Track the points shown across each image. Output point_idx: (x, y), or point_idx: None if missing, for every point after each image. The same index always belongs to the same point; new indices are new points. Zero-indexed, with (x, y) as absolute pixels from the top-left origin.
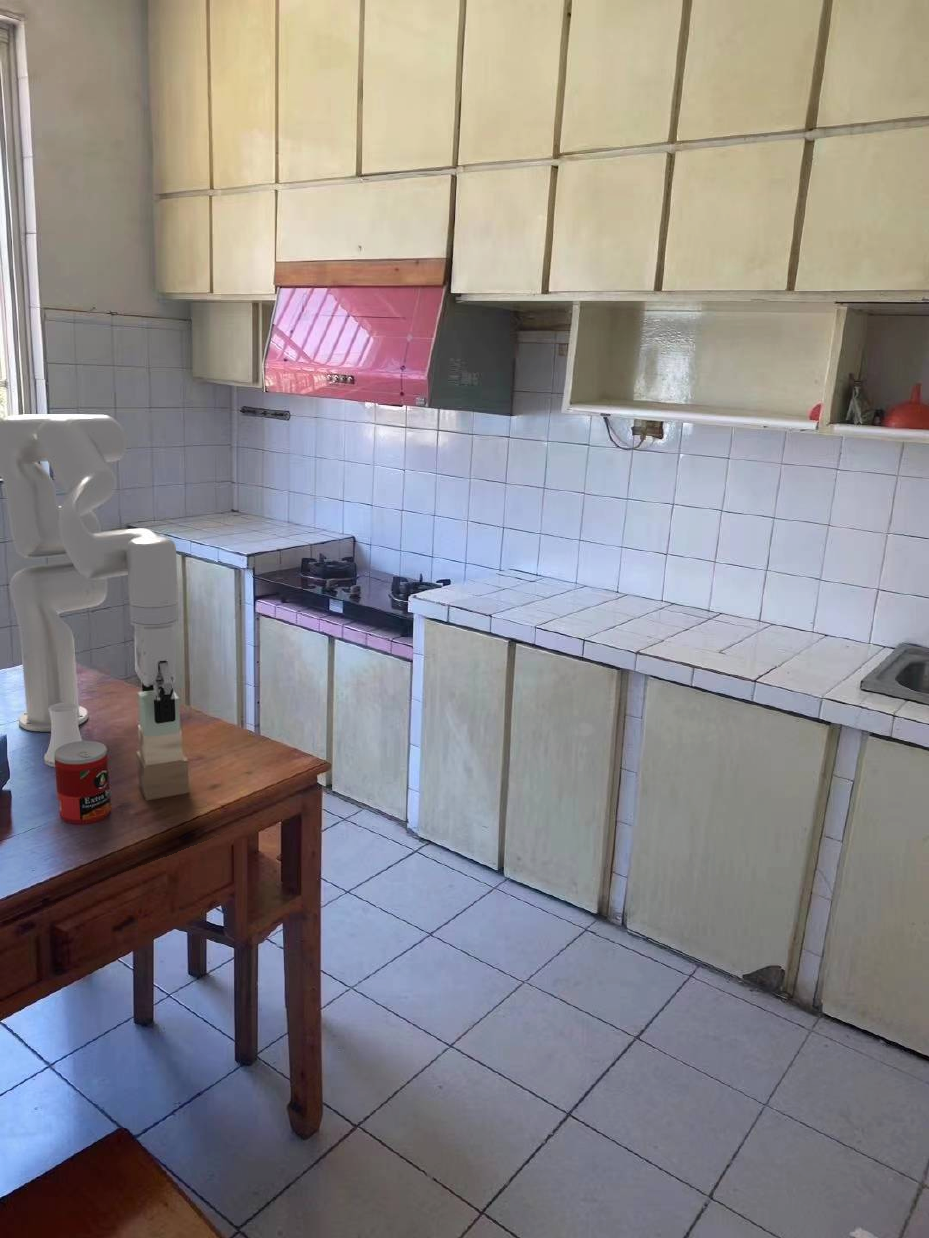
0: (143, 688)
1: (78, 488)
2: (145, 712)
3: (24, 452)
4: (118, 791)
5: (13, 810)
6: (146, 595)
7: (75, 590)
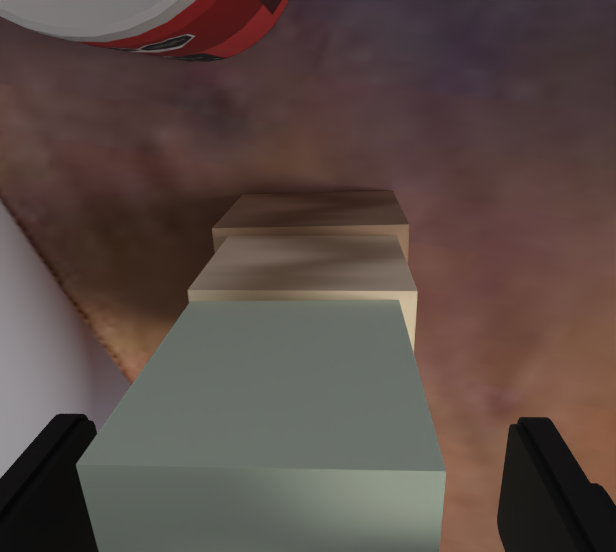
0: (580, 526)
1: None
2: (123, 403)
3: None
4: (352, 111)
5: None
6: None
7: None
